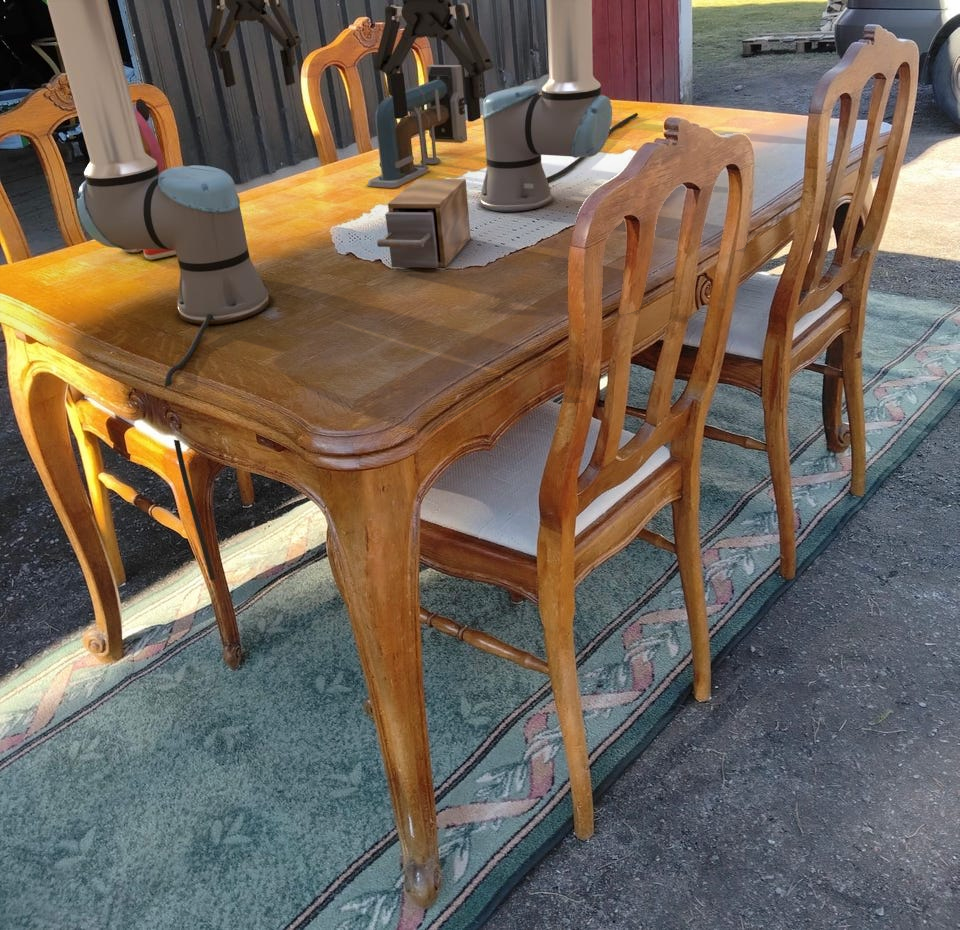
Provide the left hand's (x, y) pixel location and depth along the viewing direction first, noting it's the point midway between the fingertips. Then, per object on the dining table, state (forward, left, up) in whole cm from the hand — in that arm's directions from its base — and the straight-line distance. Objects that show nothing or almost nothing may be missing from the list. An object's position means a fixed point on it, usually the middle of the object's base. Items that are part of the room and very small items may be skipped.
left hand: (260, 85), depth 196 cm
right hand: (-35, -50, 0) cm, 61 cm away
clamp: (+44, -15, -28) cm, 54 cm away
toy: (-21, +19, -28) cm, 40 cm away
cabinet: (-17, -41, -28) cm, 52 cm away
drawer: (-24, -41, -27) cm, 54 cm away
